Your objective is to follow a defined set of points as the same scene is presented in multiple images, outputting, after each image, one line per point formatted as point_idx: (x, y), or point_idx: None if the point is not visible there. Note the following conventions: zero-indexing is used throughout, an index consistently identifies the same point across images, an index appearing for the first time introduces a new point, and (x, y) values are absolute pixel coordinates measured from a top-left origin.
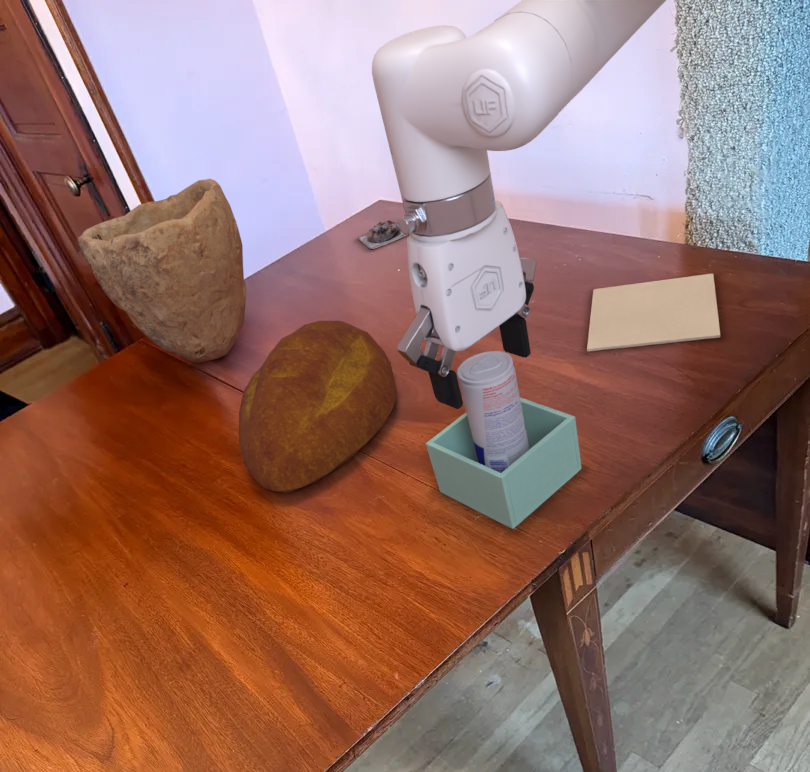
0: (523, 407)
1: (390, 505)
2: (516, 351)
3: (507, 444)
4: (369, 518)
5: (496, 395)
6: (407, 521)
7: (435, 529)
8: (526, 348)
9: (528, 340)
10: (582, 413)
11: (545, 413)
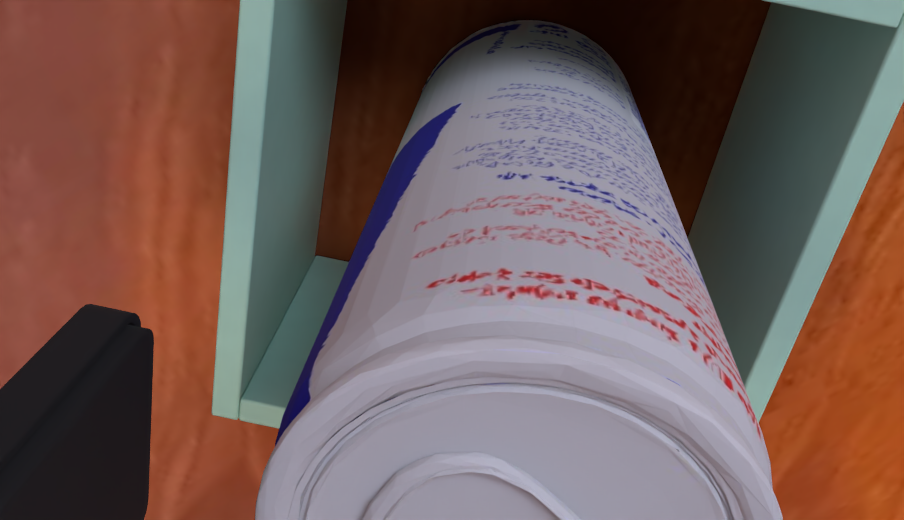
0: (264, 223)
1: (783, 467)
2: (134, 422)
3: (629, 129)
4: (865, 497)
5: (690, 306)
6: (854, 373)
7: (878, 257)
8: (92, 353)
9: (13, 382)
10: (13, 44)
11: (275, 72)
